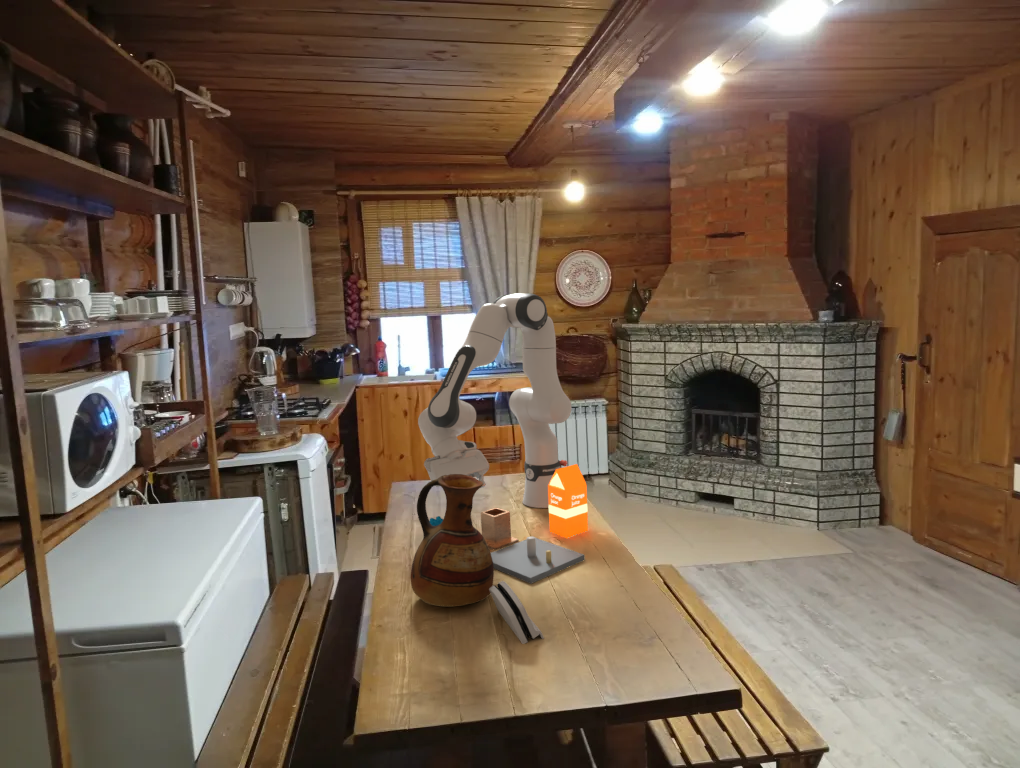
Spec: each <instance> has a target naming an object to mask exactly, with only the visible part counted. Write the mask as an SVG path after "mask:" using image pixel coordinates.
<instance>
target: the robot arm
mask: <svg viewBox="0 0 1020 768" xmlns="http://www.w3.org/2000/svg"><path fill="white" fill-rule="evenodd" d="M509 328H516V329H520V330H521V334H522V370H523V371H522V372H523V373H524V375H525V376H526V377H527V378H528V380H529V383H530V385H531V387H530V386H529V387H522V388H517V389H515V390H514V391H513V392H512V393H511V395H510V397H509V400H508V401H509V402H508V403H509V409H510V412H511V413H512V414H513V415H514V416H515V418H516V419H517V422H518V424H519V427H520V430H521V433H522V437H523V443H524V455H525V461H524V465H523V466H524V474H525V475H524V476H525V477H524V478H525V479H524V480H525V481H524V490H523V492H524V493H523V494H522V495H523V496H522V497H523V499H522V503H523V505H525V506H527V507H531V508H537V509H538V508H539V509H542V508H543V509H546V508H548V509H549V500H548V485H549V483H550V481H551V479H552V477H553V475H554V473H555V471H556V469H559V468H563V467H567V466H568V461H567V460H564V459H561V460H559V453H558V451H559V450H558V449H559V447H558V438H557V435H555V433H554V432H553V430H552V429H551V427H550V425H553V424H557V425H558V424H562V423H565V422H566V421H567V420H568V419H569V417H570V416H571V413H572V402H571V399H570V398H569V396H567V395H566V393H565V392H564V390H563V388H562V385H561V382H560V379H559V376H558V371H557V370H558V369H557V342H556V340H557V338H556V331H555V324H554V322H553V319H552V318H551V316H549V314H548V310H547V305H546V302H545V301H544V299H543V298H542V297H541V296H539V295H537V294H535V293H529V292H528V293H527V292H526V293H523V292H516V293H511V294H503V295H500V296H499V297H497V298H495V300H494V301H493V302H491V303H488V302H487V303H484V304H483V305H482V306H480V308H479V309H478V311H477V313H476V315H475V317H474V318H473V321H472V323H471V325H470V328H469V330H468V334H467V337H466V339H465V341H464V343H463V345H462V346H461V347H460V348H459V349H458V351H456V353H455V356H454V357H453V359H452V362H451V363H450V366H449V367H448V370H447V373H445V376H444V379H443V381H442V383H441V384H440V386H439V388H438V391H437V392H436V393H435V394H434V395H433V397H432V398H431V400H430V401H429V403H428V406H427V408H425V409H423V411H422V412H420V413H419V416H418V418H417V425H418V427H419V430H420V432H421V434H422V436H423V438H424V440H425V442H426V443H427V444H428V445H429V446H430V448H431V453H432V455H433V456H432V457H428V458H426V459H425V460H424V463H423V466H424V468H425V469H426V471H427V475H428V476H429V479H430V482H431V481H432V480H435V479H438V478H439V477H441V476H444V475H450V474H463V475H467V476H472V477H474V478H476V479H477V480H479V481H481V482H483V486H482V487H481V488H480V489H482V488H484V487H485V486H486V484H487V483H486V482H485V479H484V475H485V474H487V472H488V471H489V469H490V463H489V462H488V460H487V458H486V456H485V455H484V454H483V452H482V451H481V450H480V449H477V447H478V445H477V443H476V442H474V441H465V440H462V439H458V436H461V435H463V434H465V433H466V432H468V431H470V430H471V429H472V428H474V426H475V425H476V422H477V410H476V408H475V407H474V406H473V405H472V404H471V403H469V402H466V401H464V400H462V399H460V396H461V394H462V393H461V392H462V390H463V389H464V386H465V384H466V382H467V379H468V377H469V375H470V374H471V372H472V371H473V370H474V369H476V368H478V367H484V366H487V365H489V364H492V363H493V362H494V361H495V359H496V358H497V357H498V355H499V353H500V351H501V349H502V348H501V347H502V345H503V341H504V338H505V334H506V332H507V331H508V330H509ZM434 487H436V488H439V487H440V486H438V485H435V486H434Z"/></svg>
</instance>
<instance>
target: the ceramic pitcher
mask: <svg viewBox="0 0 1020 768" xmlns="http://www.w3.org/2000/svg"><path fill="white" fill-rule="evenodd" d="M435 485H438V486H439V487H441V489H442V490H443V491H444V495H445V501H446V504H445V505H446V506H445V511H444V512H445V513H444V516H445V517H444V516H443V518H442V519H443V521H442V523H441V524H439V525H437V526H432V525H431V524H430V522H429V521H430V518H429V516H428V513H427V504H426V503H427V498H428V495H429V492H430V491H431V489H432V488H433V487H436V486H435ZM482 486H483V482H481V481H479V479H477V478H476V477H472V476H467V475H463V474H450V475H444V476H441V477H439V478H438V479H435V480H432V481H431V480H430V481H429V482H428V483H426V484H425V485H424V486H423V487H422V488H421V490H420V492H419V495H418V497H417V502H416V512H417V519H418V520H419V523H420V526H421V530H422V533H423V539H422V541H421V542H420V544H419V545H418V547H417V549H416V551H415V553H414V556H413V559H412V565H411V570H410V585H411V589H412V591H413V593H414V594H415V595H416V597H417V598H419V599H420V600H422V602H424V603H426V604H428V605H430V606H431V605H432V606H438V607H460V606H467V605H470V604H475V603H477V602H480V601H481V602H482V600H485V599H486V598H488V597H489V596H490V595H491V593H490V591H489V588H491V587H492V586H494V577H495V572H494V571H495V569H494V567H493V560H492V557H491V553H492V552H491V551H490V548H489V547H488V544H487V542H486V540H485V539H484V537H483V536H482V532H480V530H478V529H477V528H475V527H474V524H473V520H472V511H473V503H474V496H475V494H476V492H477V491H478V490H480V489H482V488H481V487H482Z"/></svg>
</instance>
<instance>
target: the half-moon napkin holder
mask: <svg viewBox="0 0 1020 768" xmlns="http://www.w3.org/2000/svg"><path fill="white" fill-rule="evenodd" d="M489 591H490V595H491V597H492V600H493V603H494V604H495V608H496V609H497V612H498V613H499V614H500V615H501V617H502V618H503V619H504V621H505V623H506V624H507V626H508V627H509V628H510V629H511V630H512V632H513V634H514V635H515V636H516V637H517V639H518V641H520V642H521V644H523V645H524V644H526V643H527V644H528V640H529V638H530V639H531V638H532V639H533V640H534V639H535V638H536V637H540V639H541V640H543V639H545V637H544V634H543V632H542V631H541V630H540V629H539V627H538V626H537V624H536V623H535V622H534V621H533V620H532V618H531V617H530V616H529V614H528V612H527V610H526V608H525V606H524V604H523V603H522V601H521V600H520V599H519V597H518V595H517V593H516V592H515V591H514V590H513V589H512V588H511V586H510V585H509V583H507V582H506V581H505V580H501V581H498V582H497V584H496V585H492V587H491V588H489Z"/></svg>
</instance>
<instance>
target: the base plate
mask: <svg viewBox="0 0 1020 768" xmlns="http://www.w3.org/2000/svg"><path fill="white" fill-rule="evenodd" d="M490 553H491V557H492V560H493V567H494V570H497V571H500V572H502V573H504V574H507V575H509V576H511V577H514V578H516V579H519V580H521V581H523V582H526V583H528V584H533V583H536V582H538V581H540V580H542V579H544V578H547V577H549V576H551V575H554V574H556V573H558V571H559V572H560V570H561V571H563V570H565V569H567V567H568V568H569V566H570V567H571V566H574V565H577V564H579V563H581V562H583V560H584V561H585V560H586V558H585V557H586V556H585V554H584V553H582V552H578V551H575V550H572V549H569V548H566V547H563V546H561V545H558V544H554V543H552V542H549V541H546V540H543V539H540V538H537V537H535V536H527V537H526V539H523V540H521V541H518V542H515V543H513V544H510V545H508V546H505V547H502V548H500V549H497V550H494V551H492V552H490ZM576 563H577V564H576Z"/></svg>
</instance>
